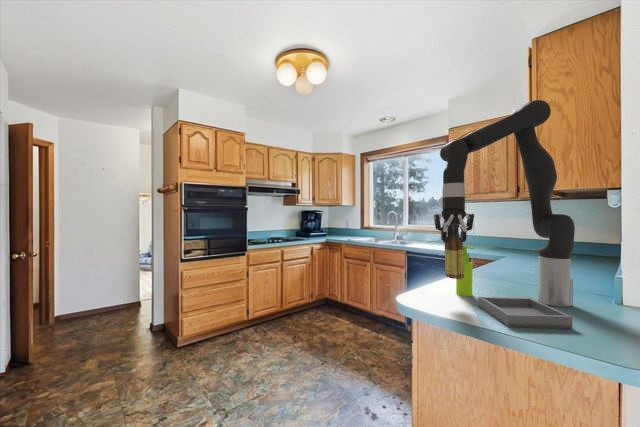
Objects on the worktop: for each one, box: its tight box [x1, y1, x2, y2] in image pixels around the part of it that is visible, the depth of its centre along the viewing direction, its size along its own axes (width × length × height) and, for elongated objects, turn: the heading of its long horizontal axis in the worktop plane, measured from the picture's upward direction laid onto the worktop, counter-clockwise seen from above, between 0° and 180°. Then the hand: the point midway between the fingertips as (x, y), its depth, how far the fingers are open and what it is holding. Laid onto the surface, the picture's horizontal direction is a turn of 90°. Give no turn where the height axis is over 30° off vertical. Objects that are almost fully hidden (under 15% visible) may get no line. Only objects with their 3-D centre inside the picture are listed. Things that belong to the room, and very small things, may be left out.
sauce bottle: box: [444, 223, 464, 279], centre depth 104 cm, size 7×6×20 cm
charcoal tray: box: [477, 296, 573, 330], centre depth 92 cm, size 18×18×4 cm
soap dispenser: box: [455, 245, 476, 297], centre depth 117 cm, size 6×7×20 cm
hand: (453, 241), depth 104 cm, fingers closed on sauce bottle, 6 cm apart
